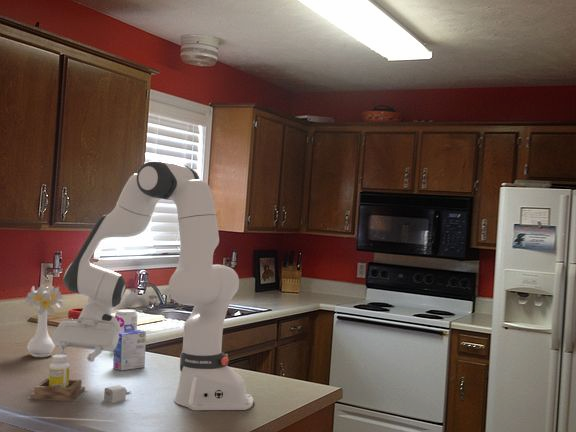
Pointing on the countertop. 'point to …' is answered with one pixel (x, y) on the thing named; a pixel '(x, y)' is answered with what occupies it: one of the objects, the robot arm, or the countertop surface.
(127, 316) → the supplement can
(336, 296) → the countertop surface
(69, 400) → the mat
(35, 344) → the flower vase
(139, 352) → the ink cartridge box
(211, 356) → the robot arm
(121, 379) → the countertop surface
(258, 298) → the countertop surface
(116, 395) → the usb wall charger
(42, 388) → the wooden tray
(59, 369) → the supplement bottle
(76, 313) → the plant pot
